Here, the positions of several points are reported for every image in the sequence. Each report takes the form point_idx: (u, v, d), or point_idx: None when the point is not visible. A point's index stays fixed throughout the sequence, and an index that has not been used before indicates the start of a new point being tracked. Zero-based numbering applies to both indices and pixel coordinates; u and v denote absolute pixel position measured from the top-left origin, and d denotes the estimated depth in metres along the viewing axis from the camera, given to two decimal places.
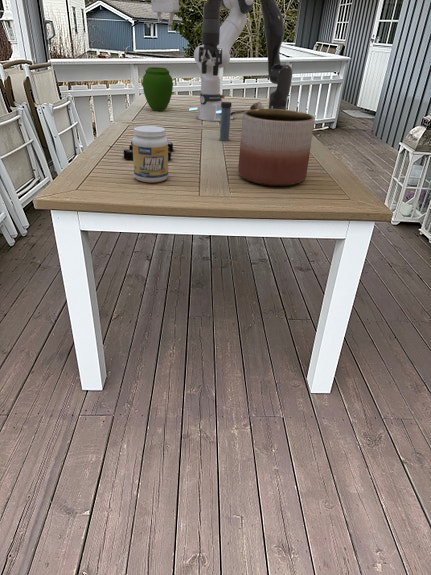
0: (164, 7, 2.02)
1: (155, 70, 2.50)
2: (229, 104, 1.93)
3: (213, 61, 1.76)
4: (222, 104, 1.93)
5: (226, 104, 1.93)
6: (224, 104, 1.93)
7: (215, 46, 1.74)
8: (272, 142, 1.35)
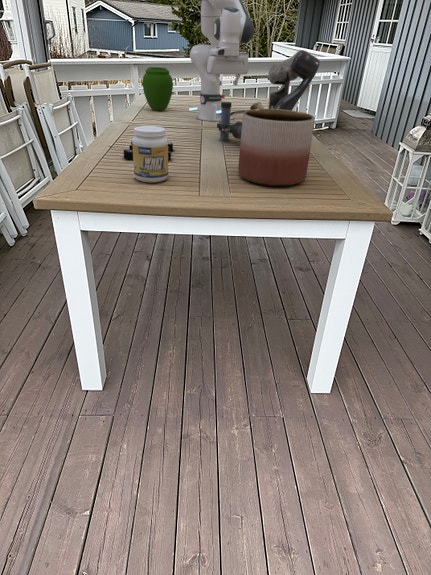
0: (234, 69, 1.87)
1: (155, 70, 2.50)
2: (229, 104, 1.93)
3: None
4: (222, 104, 1.93)
5: (226, 104, 1.93)
6: (224, 104, 1.93)
7: None
8: (272, 142, 1.35)
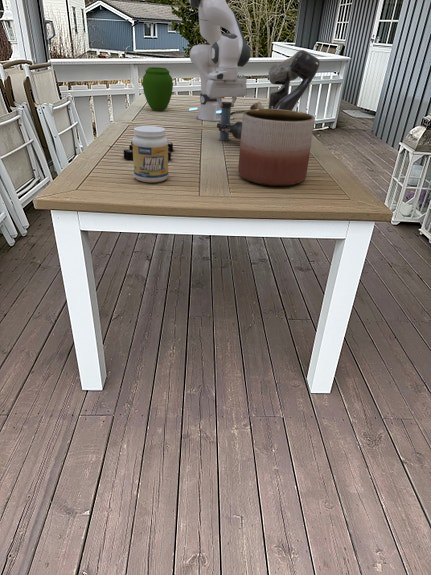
0: (232, 92, 1.92)
1: (155, 70, 2.50)
2: (229, 104, 1.93)
3: None
4: None
5: (226, 104, 1.93)
6: (224, 104, 1.93)
7: None
8: (272, 142, 1.35)
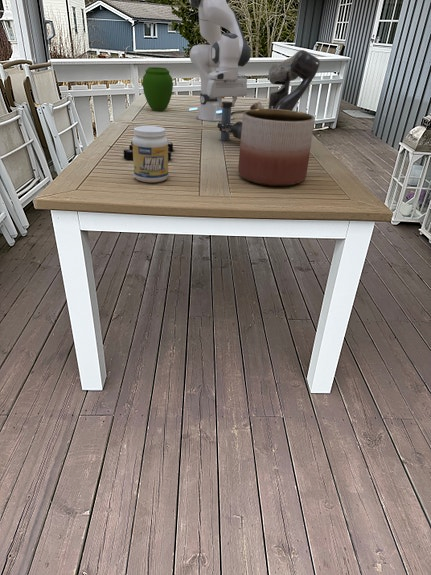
0: (233, 92, 1.92)
1: (155, 70, 2.50)
2: None
3: None
4: (228, 104, 1.93)
5: (231, 103, 1.94)
6: (230, 104, 1.93)
7: None
8: (272, 142, 1.35)
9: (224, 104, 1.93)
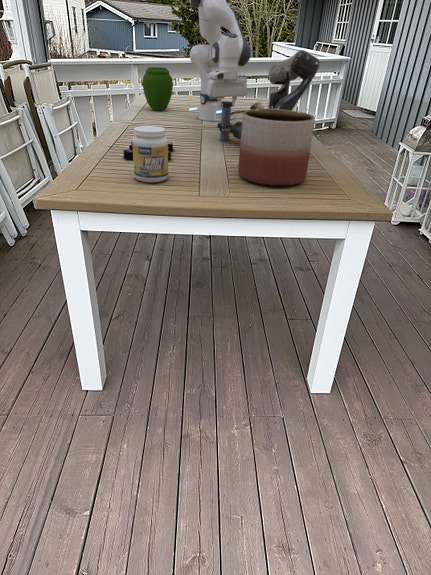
0: (233, 92, 1.92)
1: (155, 70, 2.50)
2: None
3: None
4: (231, 103, 1.95)
5: None
6: None
7: None
8: (272, 142, 1.35)
9: (230, 104, 1.93)
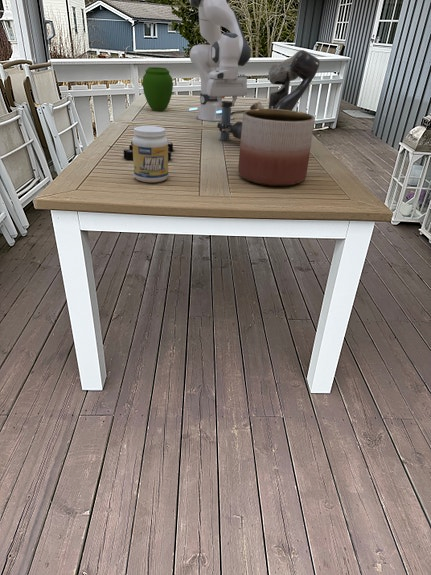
0: (233, 91, 1.92)
1: (155, 70, 2.50)
2: None
3: None
4: None
5: None
6: None
7: None
8: (272, 142, 1.35)
9: None
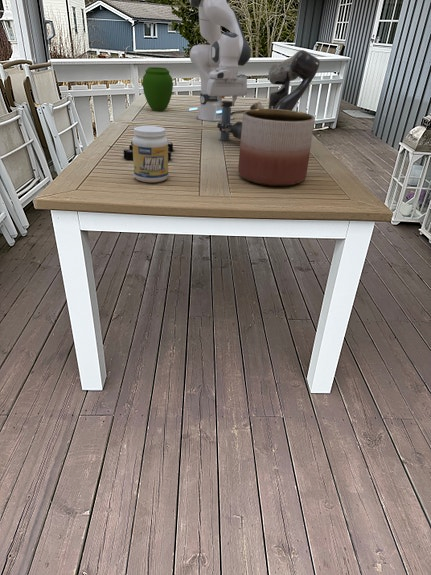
0: (233, 91, 1.91)
1: (155, 70, 2.50)
2: (223, 103, 1.93)
3: None
4: None
5: None
6: None
7: None
8: (272, 142, 1.35)
9: None
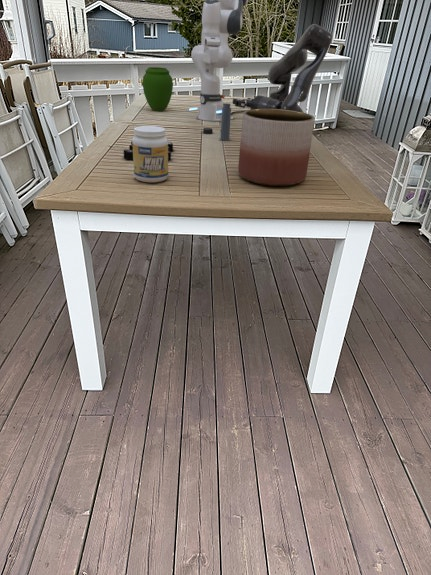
0: None
1: (155, 70, 2.50)
2: None
3: None
4: (208, 131, 2.13)
5: (211, 130, 2.14)
6: (210, 130, 2.14)
7: None
8: (272, 142, 1.35)
9: (205, 130, 2.14)
